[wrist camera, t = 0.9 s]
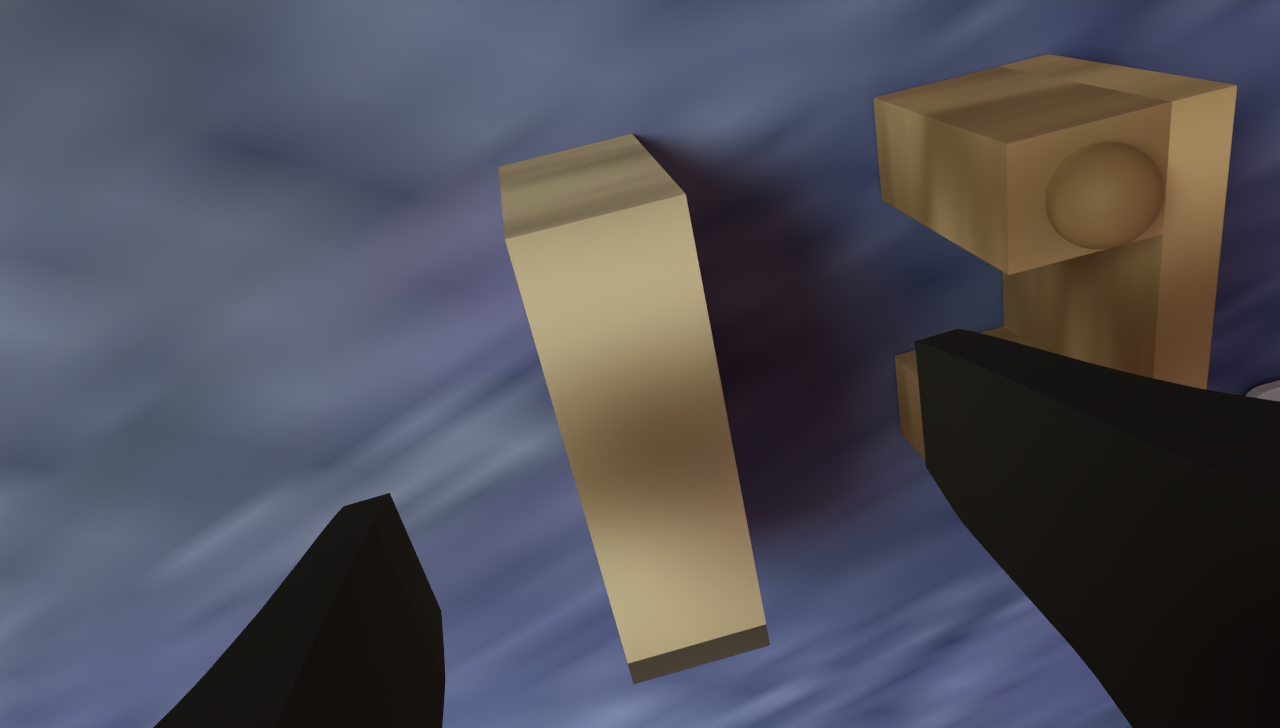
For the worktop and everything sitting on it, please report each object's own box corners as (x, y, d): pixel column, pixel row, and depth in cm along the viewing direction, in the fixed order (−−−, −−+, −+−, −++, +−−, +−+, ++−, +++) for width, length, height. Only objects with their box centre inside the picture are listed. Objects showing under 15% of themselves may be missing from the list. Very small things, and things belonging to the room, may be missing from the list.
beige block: (708, 501, 23) (769, 645, 18) (601, 531, 23) (633, 684, 18) (632, 133, 19) (685, 194, 14) (498, 166, 19) (504, 239, 14)
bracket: (1046, 393, 24) (1241, 542, 18) (900, 433, 23) (1048, 598, 17) (1048, 54, 20) (1301, 95, 14) (873, 97, 20) (1051, 159, 13)
